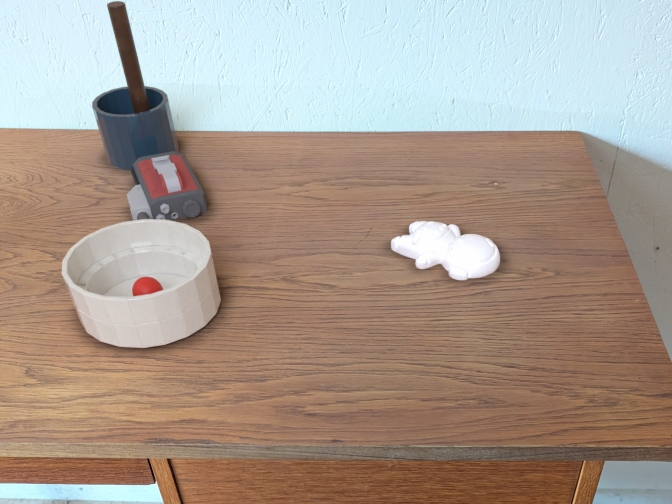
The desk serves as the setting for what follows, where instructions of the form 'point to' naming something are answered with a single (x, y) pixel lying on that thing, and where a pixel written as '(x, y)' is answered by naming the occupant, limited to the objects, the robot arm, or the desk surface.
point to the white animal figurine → (448, 249)
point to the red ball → (146, 286)
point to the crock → (134, 126)
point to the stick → (128, 56)
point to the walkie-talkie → (165, 188)
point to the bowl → (133, 263)
